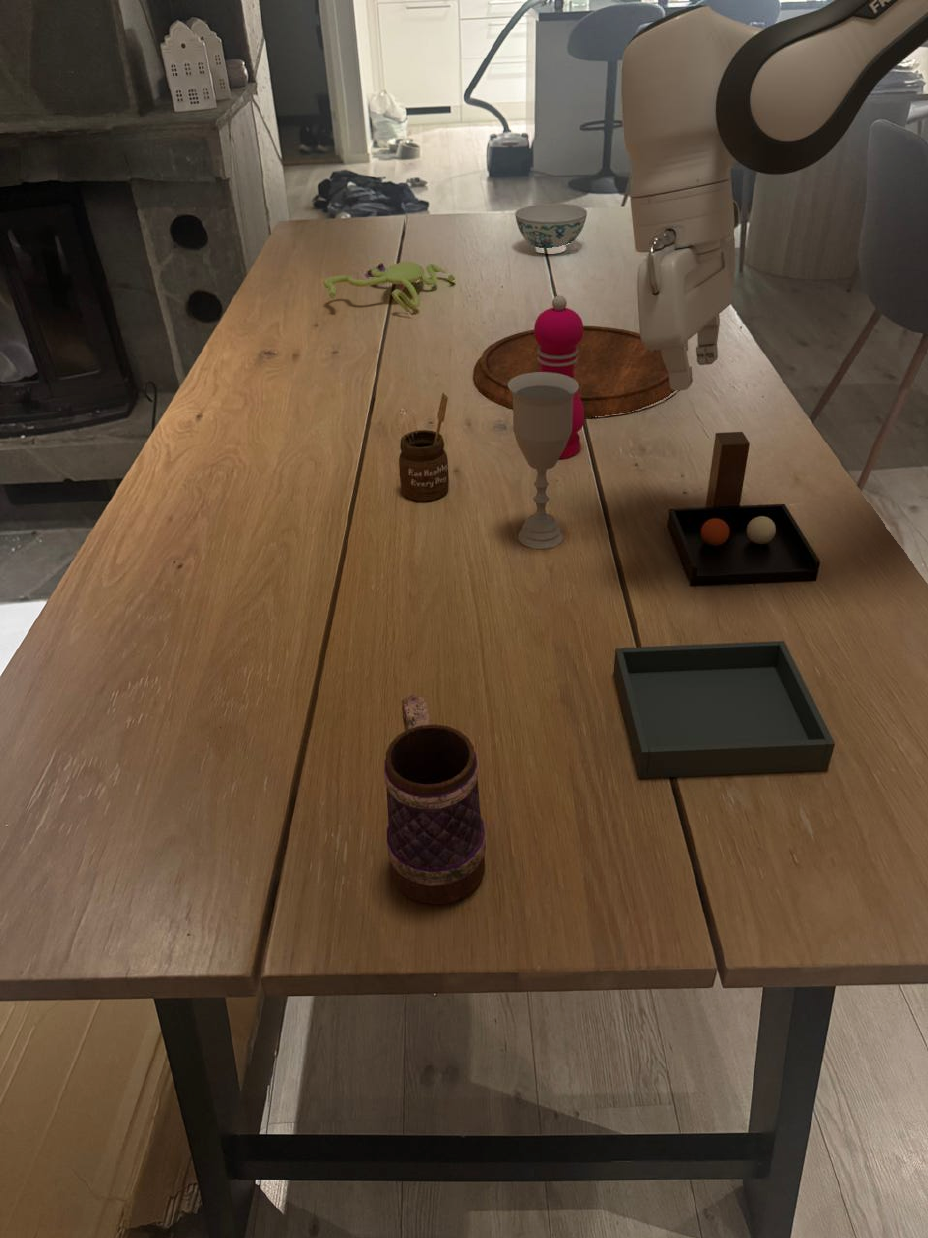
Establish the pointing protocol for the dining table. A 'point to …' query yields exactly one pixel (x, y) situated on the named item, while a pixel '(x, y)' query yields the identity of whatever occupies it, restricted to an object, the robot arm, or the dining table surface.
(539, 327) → the pepper mill
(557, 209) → the chinaware
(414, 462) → the utensil holder
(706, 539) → the ball
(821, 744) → the tray
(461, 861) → the mug
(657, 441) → the dining table surface
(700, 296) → the robot arm
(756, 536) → the ball
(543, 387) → the chalice
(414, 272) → the figurine
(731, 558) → the pan
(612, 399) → the cutting board
